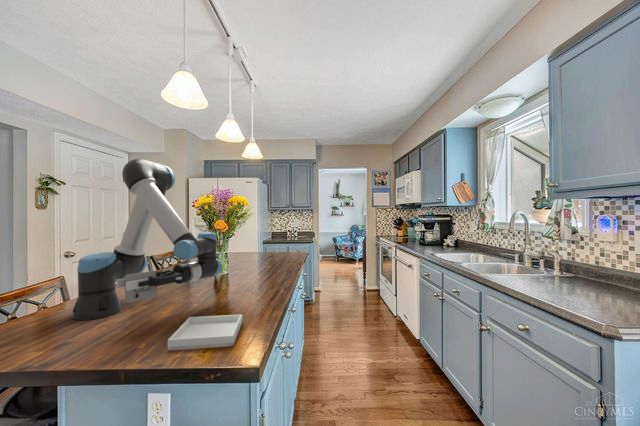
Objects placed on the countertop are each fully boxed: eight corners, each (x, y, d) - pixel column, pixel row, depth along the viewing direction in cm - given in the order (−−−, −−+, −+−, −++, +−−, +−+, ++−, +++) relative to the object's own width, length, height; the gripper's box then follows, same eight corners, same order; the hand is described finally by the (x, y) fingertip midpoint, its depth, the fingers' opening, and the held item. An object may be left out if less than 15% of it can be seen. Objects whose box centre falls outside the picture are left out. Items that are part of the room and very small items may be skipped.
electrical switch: (126, 304, 90) (127, 276, 90) (121, 301, 94) (121, 273, 94) (157, 297, 98) (158, 271, 98) (151, 295, 101) (152, 269, 101)
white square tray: (189, 325, 97) (189, 317, 97) (242, 322, 99) (242, 314, 99) (167, 350, 79) (167, 340, 79) (233, 346, 81) (232, 335, 81)
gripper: (201, 285, 107) (136, 301, 87) (172, 279, 116) (108, 292, 96) (201, 265, 107) (136, 276, 87) (172, 261, 116) (108, 270, 96)
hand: (121, 285), depth 91 cm, fingers closed on electrical switch, 5 cm apart
